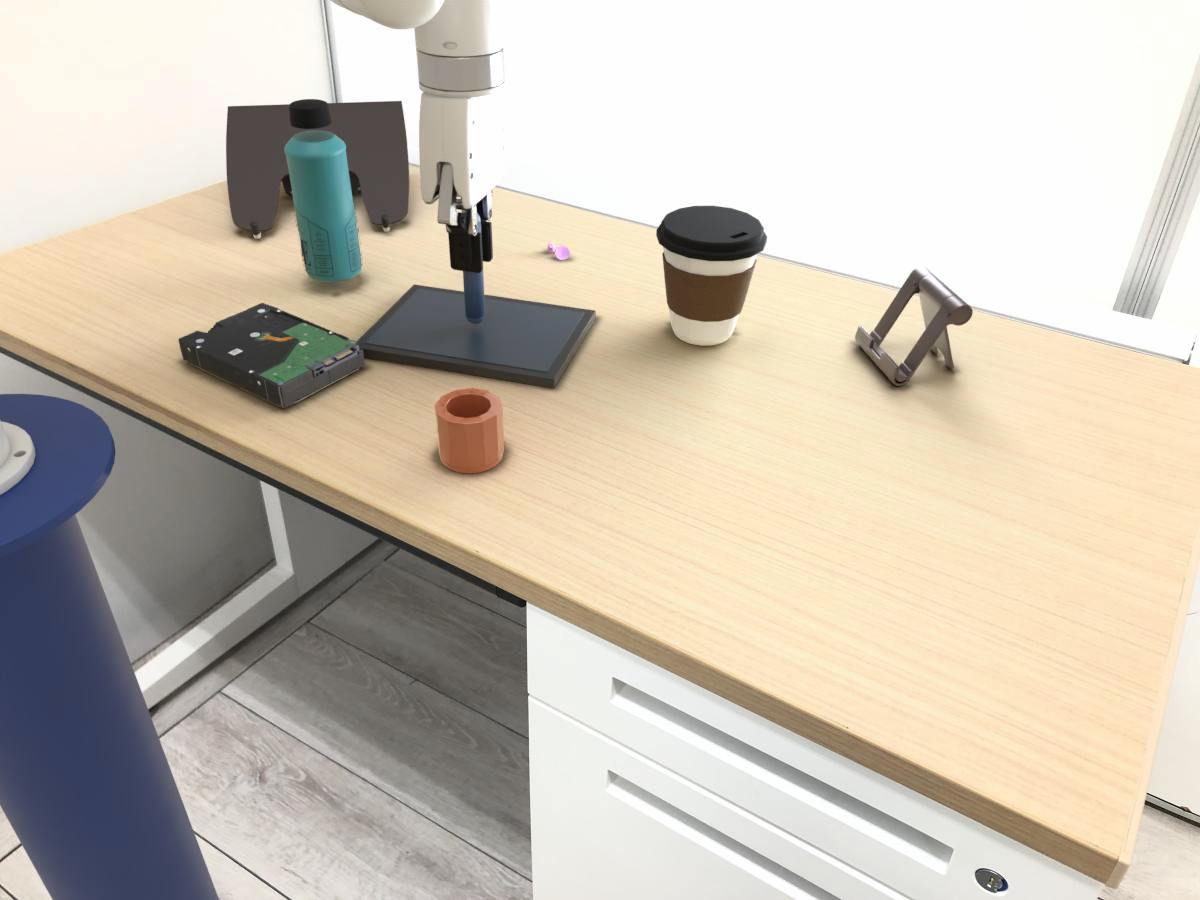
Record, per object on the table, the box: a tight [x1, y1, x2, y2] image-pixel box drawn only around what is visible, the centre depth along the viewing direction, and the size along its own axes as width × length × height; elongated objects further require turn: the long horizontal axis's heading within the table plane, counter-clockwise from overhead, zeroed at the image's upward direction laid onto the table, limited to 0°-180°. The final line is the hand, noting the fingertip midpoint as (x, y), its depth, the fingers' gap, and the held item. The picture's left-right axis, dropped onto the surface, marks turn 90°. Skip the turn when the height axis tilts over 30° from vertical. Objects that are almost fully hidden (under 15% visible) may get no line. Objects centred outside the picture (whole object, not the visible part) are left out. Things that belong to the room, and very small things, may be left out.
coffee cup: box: [655, 205, 768, 347], centre depth 98 cm, size 11×11×12 cm
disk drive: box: [178, 302, 365, 409], centre depth 92 cm, size 10×3×15 cm
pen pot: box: [434, 387, 505, 474], centre depth 80 cm, size 5×5×5 cm
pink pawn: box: [547, 242, 571, 261], centre depth 116 cm, size 3×2×2 cm
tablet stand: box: [854, 266, 974, 387], centre depth 94 cm, size 9×8×8 cm
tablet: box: [355, 284, 597, 389], centre depth 99 cm, size 15×21×1 cm
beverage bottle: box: [284, 98, 363, 283], centre depth 103 cm, size 6×7×20 cm
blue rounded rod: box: [462, 211, 485, 324], centre depth 95 cm, size 2×2×12 cm
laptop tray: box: [225, 100, 410, 240], centre depth 126 cm, size 23×23×9 cm
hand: (472, 263), depth 94 cm, fingers closed on blue rounded rod, 2 cm apart
